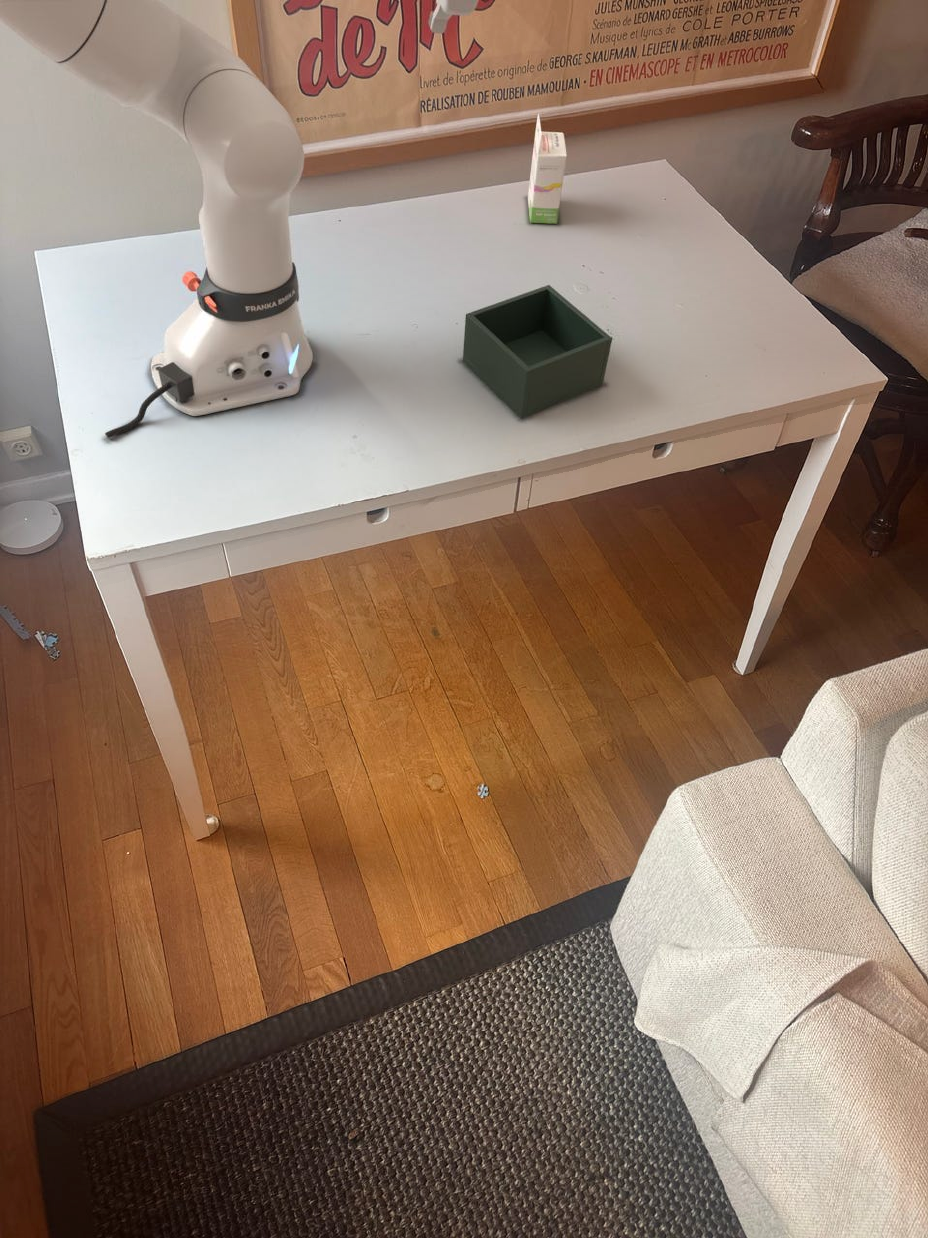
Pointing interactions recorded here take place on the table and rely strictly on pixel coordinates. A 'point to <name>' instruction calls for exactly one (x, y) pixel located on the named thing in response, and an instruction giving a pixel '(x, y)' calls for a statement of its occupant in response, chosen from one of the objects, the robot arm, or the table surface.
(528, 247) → the table surface
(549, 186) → the ink box
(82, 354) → the table surface
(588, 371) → the open storage bin
